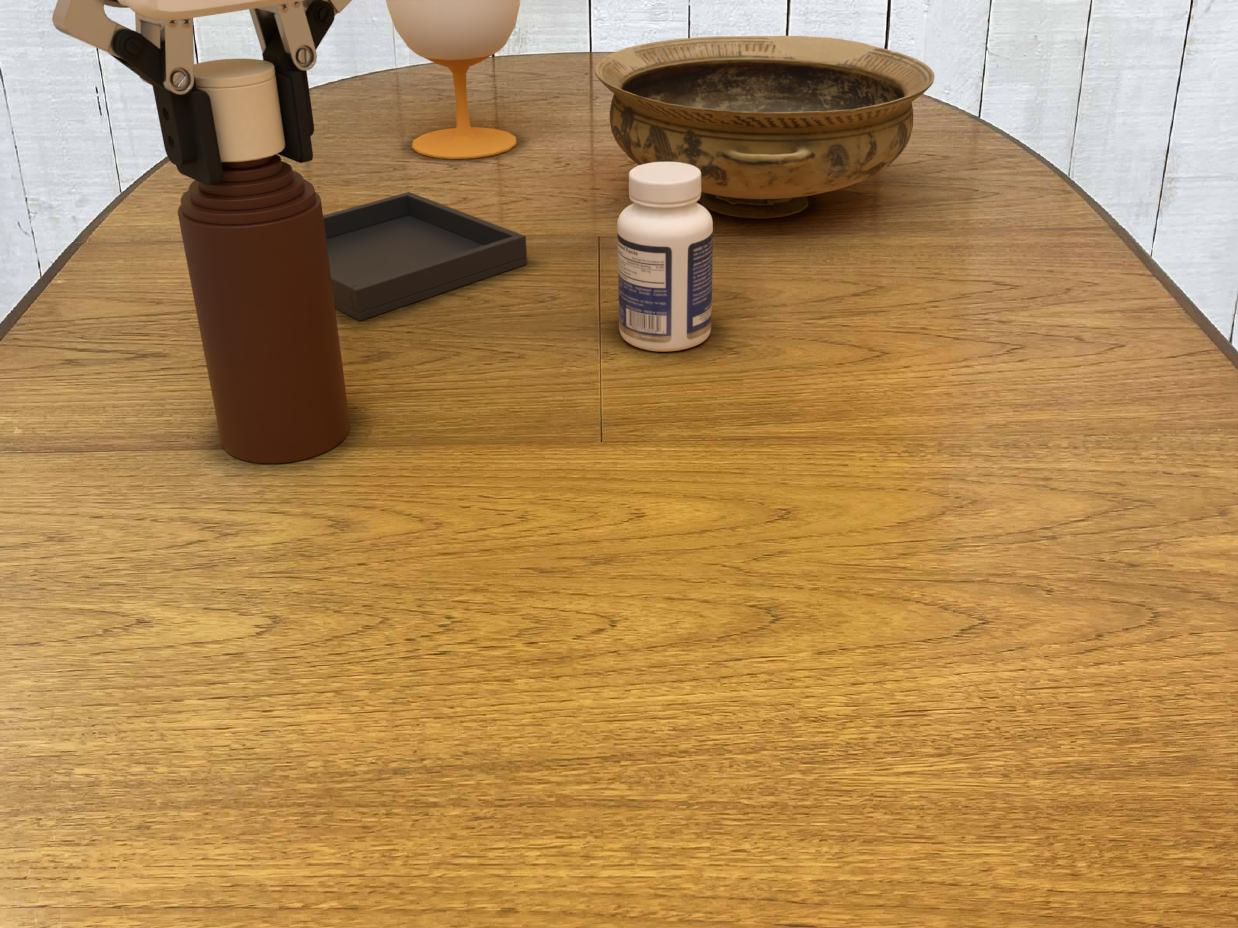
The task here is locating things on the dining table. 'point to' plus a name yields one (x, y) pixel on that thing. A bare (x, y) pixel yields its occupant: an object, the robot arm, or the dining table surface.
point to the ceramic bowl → (764, 114)
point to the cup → (457, 62)
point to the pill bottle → (665, 259)
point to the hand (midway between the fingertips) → (245, 162)
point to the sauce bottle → (266, 311)
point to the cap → (243, 107)
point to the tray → (411, 252)
